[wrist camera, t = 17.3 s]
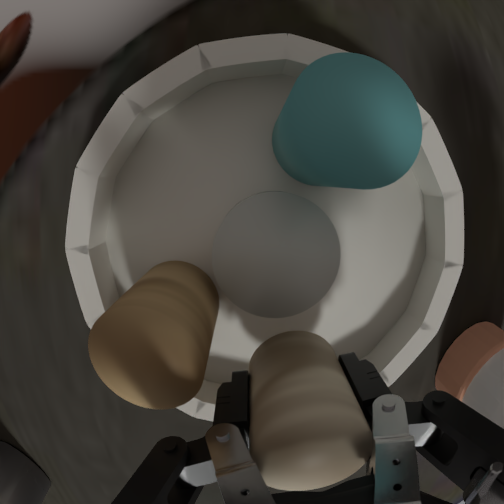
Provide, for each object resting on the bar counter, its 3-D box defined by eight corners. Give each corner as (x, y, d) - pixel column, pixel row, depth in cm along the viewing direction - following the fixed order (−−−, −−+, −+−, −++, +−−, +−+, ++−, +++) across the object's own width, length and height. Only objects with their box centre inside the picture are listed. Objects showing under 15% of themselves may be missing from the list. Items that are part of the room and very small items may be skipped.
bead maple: (292, 312, 13) (320, 398, 8) (352, 361, 14) (396, 443, 8) (230, 372, 14) (222, 467, 8) (292, 412, 15) (308, 499, 9)
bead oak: (202, 349, 16) (183, 423, 10) (130, 318, 16) (82, 378, 10) (232, 280, 15) (223, 339, 9) (152, 247, 15) (99, 284, 9)
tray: (147, 403, 18) (135, 433, 15) (76, 106, 14) (46, 95, 11) (424, 359, 18) (446, 383, 15) (407, 60, 14) (434, 43, 10)
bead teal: (279, 191, 14) (301, 197, 8) (265, 103, 13) (277, 54, 7) (364, 181, 14) (430, 184, 8) (351, 97, 13) (406, 56, 7)
